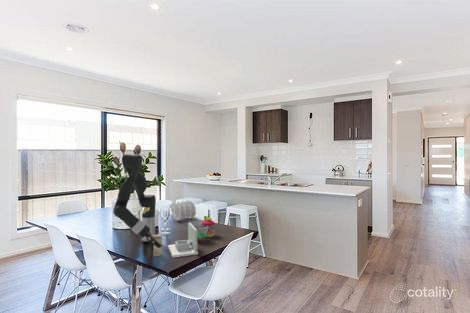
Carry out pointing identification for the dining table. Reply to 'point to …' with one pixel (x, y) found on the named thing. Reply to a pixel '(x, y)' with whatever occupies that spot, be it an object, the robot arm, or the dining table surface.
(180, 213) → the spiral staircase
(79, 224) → the dining table surface
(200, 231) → the food container
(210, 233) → the cake
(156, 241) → the robot arm
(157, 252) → the rail post
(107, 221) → the dining table surface
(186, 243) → the cup bracket
